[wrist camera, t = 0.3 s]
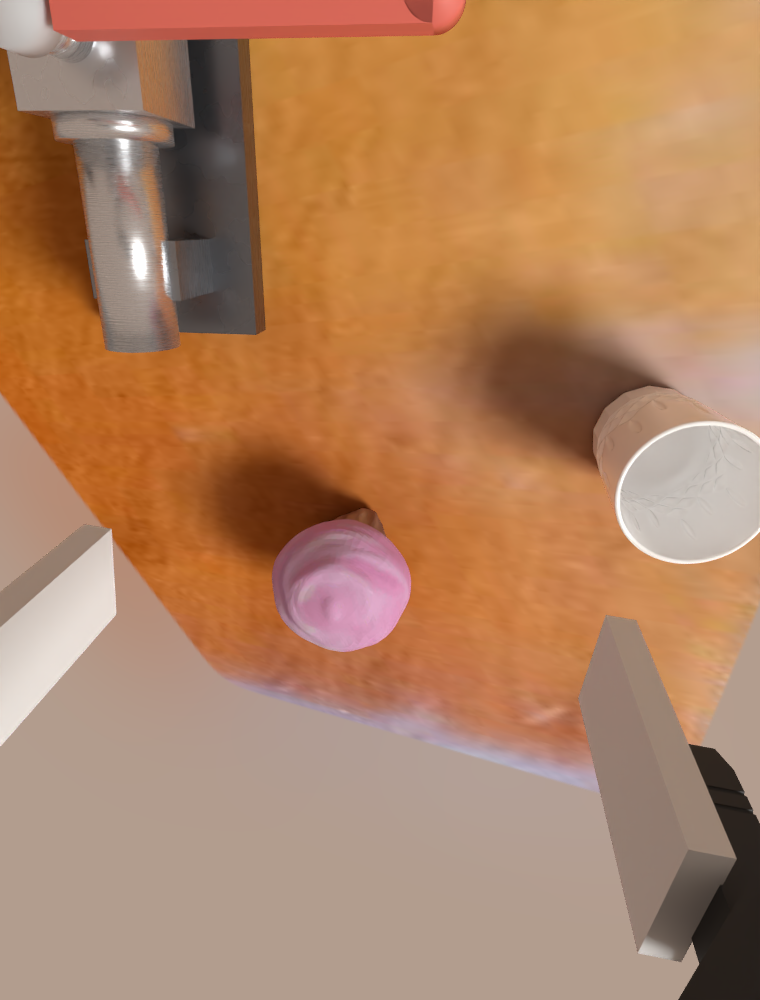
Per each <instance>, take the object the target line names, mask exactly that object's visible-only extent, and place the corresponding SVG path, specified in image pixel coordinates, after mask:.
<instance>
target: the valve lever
mask: <svg viewBox="0 0 760 1000" xmlns="http://www.w3.org/2000/svg"><path fill="white" fill-rule="evenodd" d="M465 4H466V0H0V48H3V49H5V50H8V51H10V52H13V53H16V54H18V55H21V56H24V57H28V58H39V57H43V56H45V55H47V54H49V53H50V52H52V51H53V50H54V49H55V48H56V46H57V45H58V43H59V41H60V39H61V37H62V35H64V36H67V37H69V38H71V39H73V40H75V41H77V42H85V41H142V40H198V39H254V38H311V37H367V36H423V35H440V34H443V33H445V32H447V31H449V30H450V29H452V28H453V27H454V26H455V25H456V24H457V22H458V21H459V19H460V18H461V16H462V14H463V11H464V8H465Z"/></svg>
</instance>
